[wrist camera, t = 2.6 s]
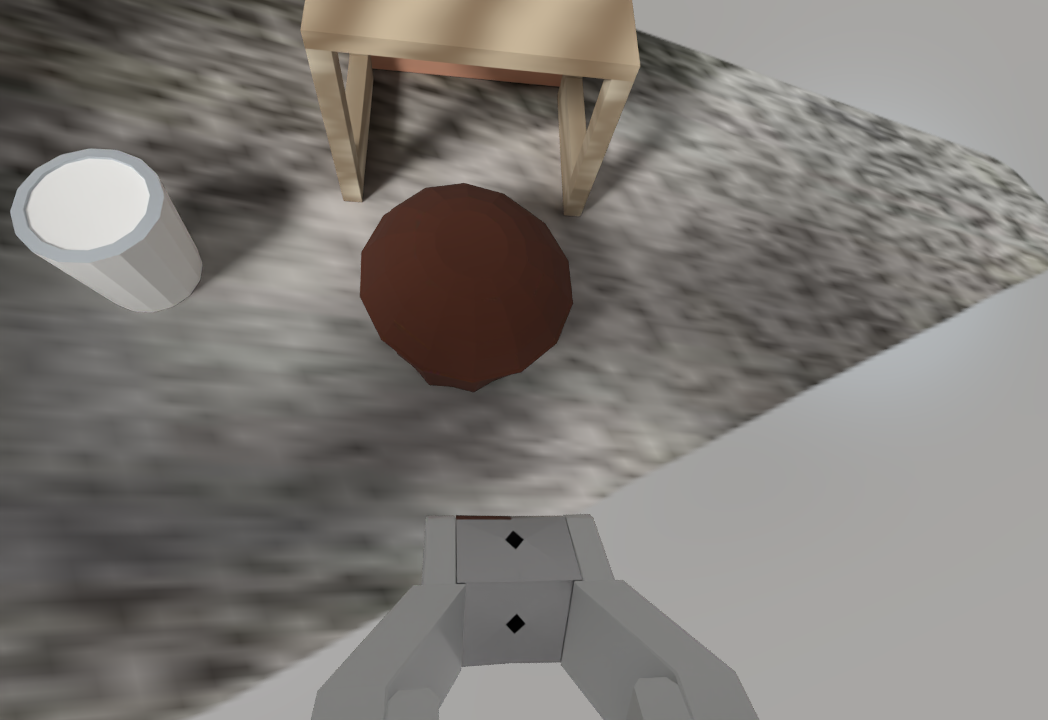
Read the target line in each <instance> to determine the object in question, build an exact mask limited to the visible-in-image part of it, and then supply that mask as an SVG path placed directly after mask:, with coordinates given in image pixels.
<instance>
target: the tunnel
mask: <svg viewBox="0 0 1048 720" xmlns="http://www.w3.org/2000/svg"><path fill="white" fill-rule="evenodd" d="M301 34H302V38H303V41H304V45H305V49H306V53H307V57H308V61H309V65H310V69H311V73H312V77H313V81H314V85H315V89H316V93H317V97H318V101H319V105H320V109H321V113H322V117H323V121H324V124H325V128H326V132H327V136H328V140H329V144H330V148H331V152H332V156H333V160H334V164H335V168H336V172H337V176H338V180H339V184H340V188H341V192H342V196H343V200H344V201H353V202H362V198H363V187H364V176H365V165H366V155H367V144H368V133H369V123H370V112H371V101H372V90H373V80H374V78H373V70H372V63H371V55H374V56H384V57H394V58H404V59H414V60H424V61H433V62H443V63H453V64H463V65H473V66H483V67H493V68H503V69H512V70H522V71H532V72H542V73H552V74H562V79H561V83H560V87H559V91H558V95H557V100H558V118H559V137H560V155H561V173H562V191H563V209H564V215H566V216H581V213H582V211H583V208H584V206H585V203H586V201H587V198H588V196H589V193H590V191H591V188H592V186H593V183H594V181H595V178H596V176H597V173H598V171H599V168H600V166H601V163H602V161H603V158H604V156H605V153H606V151H607V148H608V145H609V143H610V140H611V138H612V135H613V133H614V130H615V128H616V125H617V123H618V120H619V118H620V115H621V113H622V110H623V108H624V105H625V103H626V100H627V98H628V95H629V93H630V90H631V88H632V85H633V83H634V80H635V78H636V75H637V73H638V70H639V68H640V60H639V52H638V44H637V36H636V28H635V20H634V12H633V5H632V0H305V5H304V12H303V18H302V24H301ZM337 52H345V53H350V58H349V67H348V75H347V84H346V93H345V89H344V84H343V79H342V74H341V69H340V64H339V58H338V53H337ZM582 77H591V78H601V79H604V81H603V84H602V87H601V90H600V93H599V96H598V99H597V102H596V105H595V108H594V111H593V114H592V117H591V120H590V123H589V126H588V129H587V132H586V122H585V109H584V96H583V83H582Z"/></svg>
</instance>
